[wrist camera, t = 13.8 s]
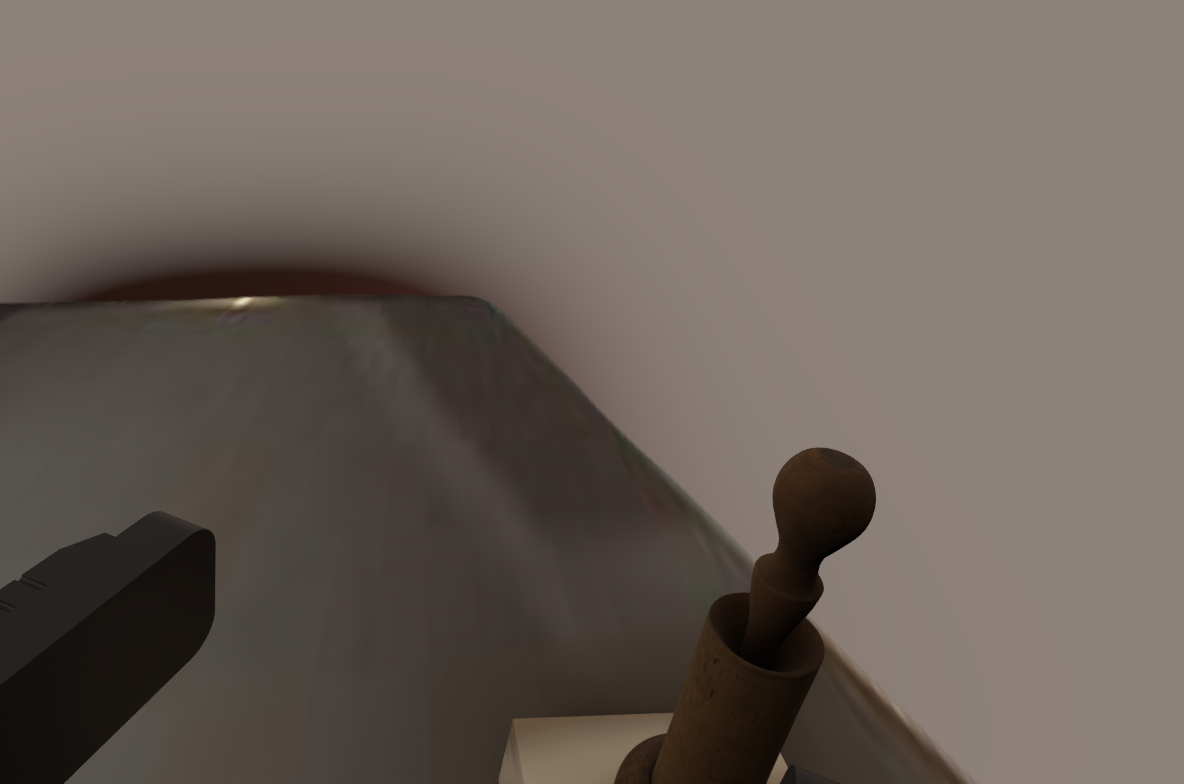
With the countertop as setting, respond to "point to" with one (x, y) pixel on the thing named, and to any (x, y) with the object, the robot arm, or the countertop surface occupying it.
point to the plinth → (582, 748)
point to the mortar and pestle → (761, 638)
